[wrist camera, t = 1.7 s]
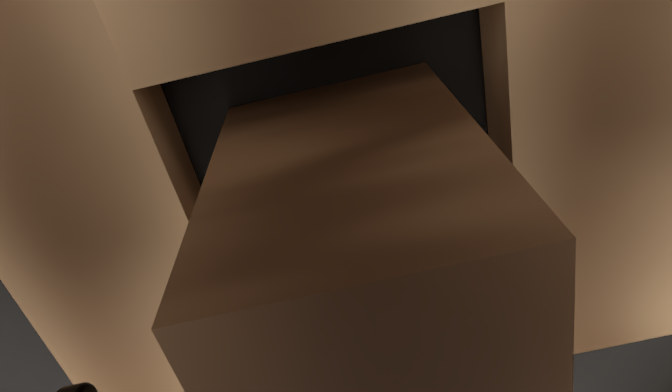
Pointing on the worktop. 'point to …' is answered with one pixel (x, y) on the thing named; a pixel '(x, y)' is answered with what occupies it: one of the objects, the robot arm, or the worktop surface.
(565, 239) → the walnut block
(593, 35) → the pocket board
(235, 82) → the worktop surface
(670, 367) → the worktop surface
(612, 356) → the worktop surface
